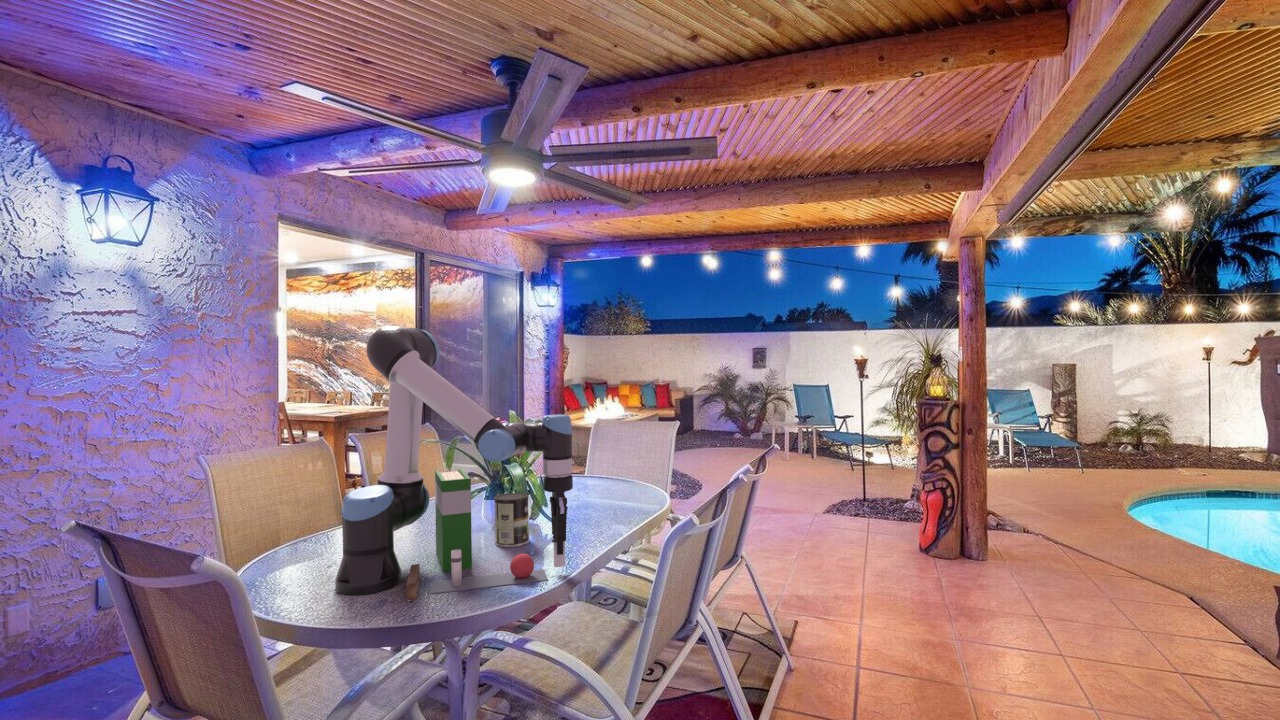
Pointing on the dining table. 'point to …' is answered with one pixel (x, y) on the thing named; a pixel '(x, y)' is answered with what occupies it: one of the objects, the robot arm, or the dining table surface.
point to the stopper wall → (413, 582)
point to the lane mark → (486, 582)
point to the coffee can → (511, 520)
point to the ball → (522, 566)
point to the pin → (456, 567)
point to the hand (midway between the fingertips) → (559, 565)
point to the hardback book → (453, 517)
